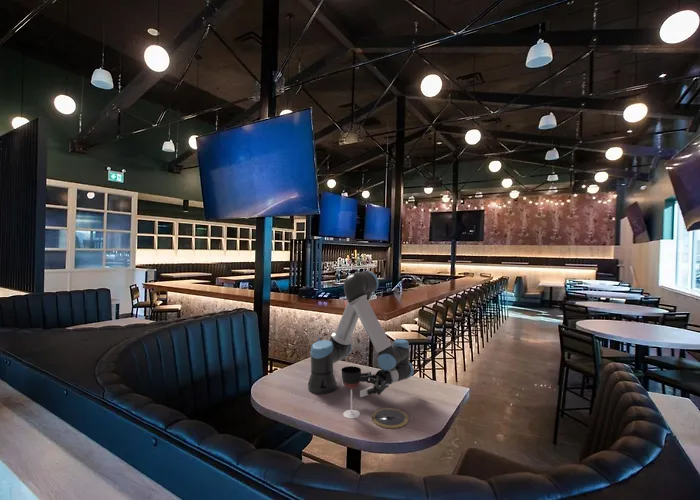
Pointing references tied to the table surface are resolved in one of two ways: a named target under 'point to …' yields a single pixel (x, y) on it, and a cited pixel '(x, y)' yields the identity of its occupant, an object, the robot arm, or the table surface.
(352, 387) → the wineglass
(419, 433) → the table surface
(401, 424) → the coaster
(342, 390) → the table surface
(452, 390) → the table surface
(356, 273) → the robot arm
